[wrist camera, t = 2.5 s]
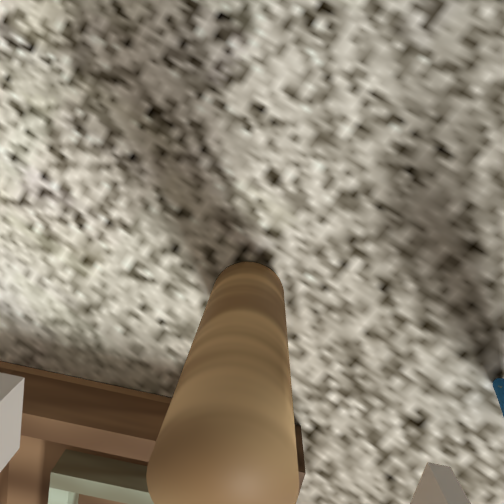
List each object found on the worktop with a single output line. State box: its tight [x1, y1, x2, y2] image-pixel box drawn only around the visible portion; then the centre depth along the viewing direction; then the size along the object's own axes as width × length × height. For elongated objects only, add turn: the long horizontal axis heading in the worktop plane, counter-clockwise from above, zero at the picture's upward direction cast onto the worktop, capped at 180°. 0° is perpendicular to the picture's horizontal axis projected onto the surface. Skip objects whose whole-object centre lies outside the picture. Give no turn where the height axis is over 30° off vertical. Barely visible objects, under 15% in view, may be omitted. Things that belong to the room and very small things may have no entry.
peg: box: [146, 262, 299, 504], centre depth 18 cm, size 4×4×14 cm
